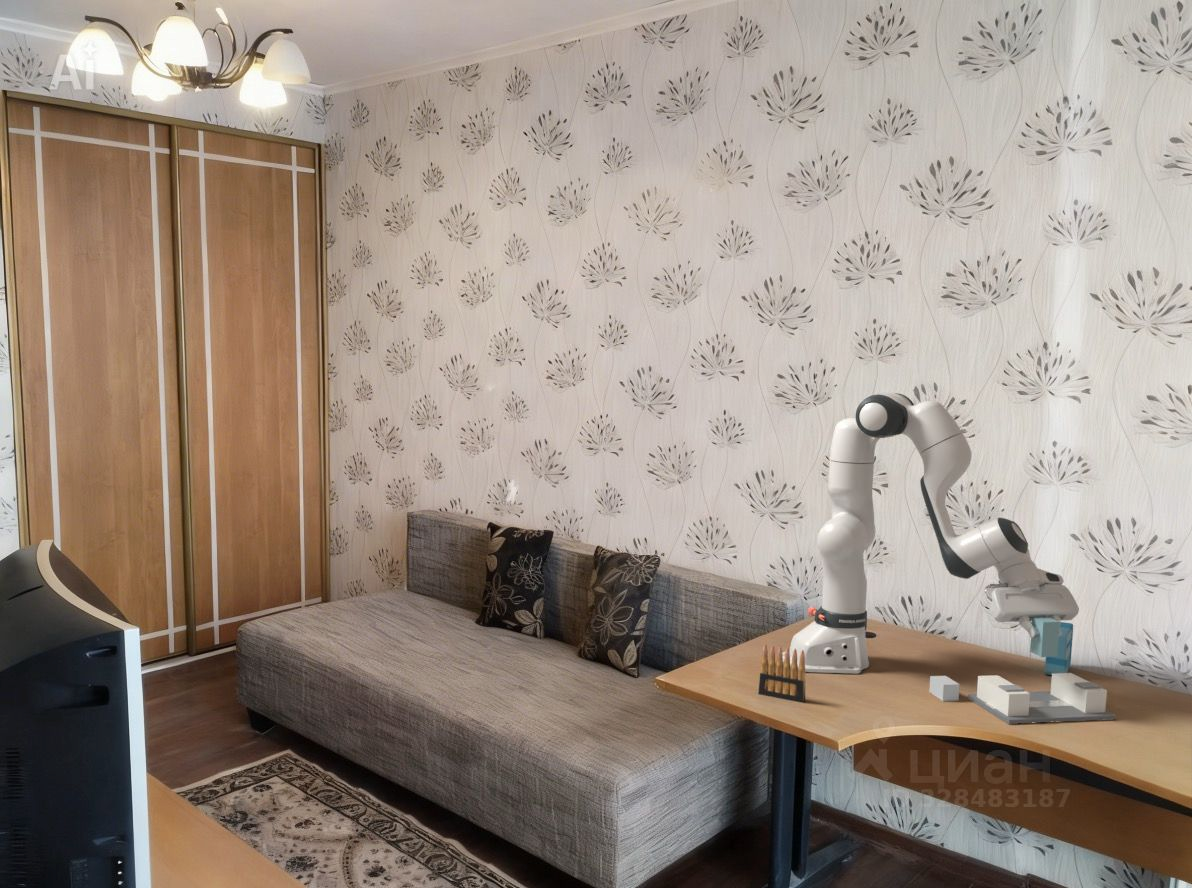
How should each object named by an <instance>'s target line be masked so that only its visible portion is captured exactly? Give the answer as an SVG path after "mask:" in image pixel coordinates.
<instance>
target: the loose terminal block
mask: <svg viewBox="0 0 1192 888" xmlns="http://www.w3.org/2000/svg"><path fill="white" fill-rule="evenodd" d="M928 691H929V693H930V694H931V693H932V695H933V696H935V697H936V698H938V699H939V700H941V702H949V701H950V702H951V701H952V702H955V701H959V699H960V697H959V696H960V683H958V682H957V681H955V680H954V679H951V678H950V677H949V676H946V675H929V690H928Z"/></svg>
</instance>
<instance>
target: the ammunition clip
mask: <svg viewBox="0 0 1192 888" xmlns="http://www.w3.org/2000/svg"><path fill="white" fill-rule="evenodd" d="M768 651H769V650H768V645H767V643H764V645H763V648H762V655H761V661H760V673H759V682H758V691H757V693H758V695H761V696H766V697H772V698H777V699H780V700H781V699H782V700H786V701H787V700H788V701H792V702H797V703H804V702H805V701H806V672H805V655H804V651H803V650H802V651H801V654H800V661H799V667H798V665H797V651H796V649H794V651H793V655H792V664H791V667H790V652H789V651H790V647H786V649H785V651H784V652H785V659H784V662H783V658H782V657H783V654H782V652H783V649H782V646H779V647H778V650H777V653H776V650H775V646H774V644H772V645H771V648H770V651H769V656H768ZM776 654H777V656H776ZM776 657H777V658H776ZM768 658H769V659H768Z"/></svg>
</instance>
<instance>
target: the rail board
mask: <svg viewBox="0 0 1192 888" xmlns="http://www.w3.org/2000/svg"><path fill="white" fill-rule="evenodd" d="M1027 692H1028V693H1030V699H1029V714H1028V716H1006V715H1005V714H1003V713H1002V712H1000V711H998V710H997V709H996V708H994V707H993V706H991V705H990V704H988V703H986V702H984V701H982V700H981V699H979V698H978V697H977V693H967V699H968V700H970V701H971V702H973V703H974V704H976V705H978V706H979V707H980V708H983V710H985V711H987V712H988V713H990V714H992V715H993V716H995V717H996V716H997V717H996V718H998V719H1000V720H1001V721H1002V722H1004V721H1005V722H1004V723H1006V724H1007V723H1008V724H1007V725H1019V724H1018V723H1030V724H1033V723H1032V722H1051V721H1055V722H1054V723H1057V722H1056V721H1077V722H1087V721H1086V720H1100V721H1104V720H1103V719H1108V720H1107V721H1110V720H1109V719H1115V720H1116V714H1113V713H1112V712H1110V711H1108V710H1107V709H1105V712H1100V713H1084V712H1082V711H1080V710H1079V709H1077V708H1075V707H1073V706H1072V705H1070V704H1069V703H1067V702H1065V701H1063V700H1060V699H1058V698H1057V697H1055V696H1053V695H1051V690H1044V691H1042V690H1041V691H1027Z"/></svg>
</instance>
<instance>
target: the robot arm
mask: <svg viewBox="0 0 1192 888" xmlns="http://www.w3.org/2000/svg"><path fill="white" fill-rule="evenodd" d="M899 435H904V436H907V437H908V438H909V439H910V440H911V441H912V443H913V444H914V446H915V448H916V450H917V451H918V453H919V456H920V457H921V460H922V464H923V475H922V476H921V478H920V480H919V482H920V483H919V485H920V490H921V493H922V496H923V497H922V498H923V501H924V503H925V506H926V507H925V508H926V510H927V513H928V516H929V519H930V521H931V524H932V528H933V532H934V533H935V536H936V539H937V542H938V547H939V551H940V554H941V559H942V562H943V565H944V567H945V568H946V570H947V571H948V573H949V574H950V575H952V576H953V577H957V578H961V579H965V580H968V579H970V578H972V577H974V576H976V575H977V574H979V573H981V571H985V570H986V569H989V568H991V567H994V568H995V569H996V571H997V576H998V577H997V578H998V579H999V582H1000V583H989V584H988V585H987V586H985V588H984V593H985V595H986V599H987V600H988V605H989V608H990V613H991V615H992V618H993V619H994V620H995V621H996V622H997V623H1011V622H1012V623H1013V622H1018V625H1019V626H1021V628H1023V629H1024V630H1026V632H1027V633H1028V635H1029V637H1030V639H1031V638H1035V637H1038V636H1039V635H1040V632H1039V631H1038V628H1037V627H1033V626H1032V623H1031V622H1032V617H1049V618H1052V619H1054V620H1056V621H1059V626H1060V622H1061V621H1072V620H1073V619H1074V618H1076V616H1077V615H1078V614H1079V611H1080V608H1079V605H1078V604H1077V602H1076V601H1077V600H1076V598H1074V596H1073V594H1072V592H1071V591H1070V589H1069V588H1068V587H1067V586H1066V585H1063V583H1064V582H1065V581H1064V579H1063V576H1061V575H1060V574H1057V573H1053V572H1050V571H1046V570H1044V569H1041V568H1038V566H1037V564H1036V563H1035V562H1034V561H1033V560H1032V559H1031V556H1030V555H1031V553H1030V550H1029V548H1028V547H1029V543H1028V541H1027V539H1026V537H1025V535H1024V532H1023V531H1022V528H1020V526H1019V524H1018V523H1016V522H1015V521H1013V520H1010V519H1007V518H1004V517H997V518H993V519H991V520H989V521H986V522H985V523H982V524H980V525H979V526H977V527H974V528H972V529H969V530H967V531H965V532H963V533H961V534H956V533H955V530H954V527H953V524H952V522H951V521H952V520H951V517H950V516H949V513H948V510H947V507H946V497H947V495H948V492H949V491H950V489H951V488H952V487H953V486H954V485H955V484H956V483H957V482H958V480H959V479H960V478H962V476H963V475H965V473H966V471H967V470H968V468H969V466H970V464H971V461H972V450H971V447H970V444H969V442H968V440H967V438H966V436H965V435H964V433H963V431H962V430H961V428H960V426H959V425H958V423H957V421H956V420H955V419H954V417H953V416H952V415H951V413H949V411H948V410H947V409H946V408H945V406H944V405H943V404H942V403H941V402H940V401H936V400H925V401H924V400H923V401H921V402H918V403H916V404H914V402H913V401H912V399H910V397H908V396H906V395H905V394H901V393H898V392H895V393H894V392H882V393H879V394H878V393H877V394H873V395H870V396H868V397H866V398H864V399H863V400H862V401H861V402H860V403H859V404H858V406H857V408H856V411H855V417H847V418H844V419H841V420H840V421H838V422H837V424H836V425H835V427H834V431H833V434H832V439H831V444H830V451H829V464H828V479H827V491H828V494H829V499H830V507H831V518H830V519H828V520H827V521H825V523H823V525H822V526H821V527H820V530H819V531H818V533H817V537H816V538H817V539H816V544H817V547H818V550H819V556H820V557H819V558H820V562H821V563H820V565H821V571H822V593H821V594H822V595H821V597H822V598H821V606H820V607H819V608H818V609H816V608H814V607H813V606H809V608H808V609H807V613H808V614H809V615H811V616H812V617H814V620H813V621H812V622H811V623H809V624H808V625H806V626H805V627H803V628H802V629H801V630H800V631H798V632H797V633H795V634H794V635H793V636H792V639H791V641H790V647H789V652H790V668H791V664H792V655H793V651H794V649H796V651H797V665H798V667H799V661H800V654H801V651H802V650H803V651H804V655H805V673H824V674H825V673H827V674H834V673H835V674H861V672H862V670H864V669H865V670H866V669H867V668H869V667H870V661H869V657H868V651H867V644H866V630H867V627H868V610H866V609H867V608H866V605H867V590H868V588H867V587H868V580H867V578H866V574H865V565H864V563H865V562H864V553H865V550H867V549H868V548H870V547H871V545H872V544H873V542H874V540H875V537H876V526H875V525H876V524H875V511H874V503H873V502H874V501H873V498H874V497H873V486H874V485H873V484H874V482H873V481H874V469H875V468H874V466H875V465H874V464H875V450H876V446H877V443H878V441H879V440H881V439H885V438H893V437H896V436H899ZM1061 634H1062V632H1061V630H1060V628H1059V636H1060V635H1061ZM785 652H786V651H782V654H783V657H782V658H783V663H784V659H785Z"/></svg>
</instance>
